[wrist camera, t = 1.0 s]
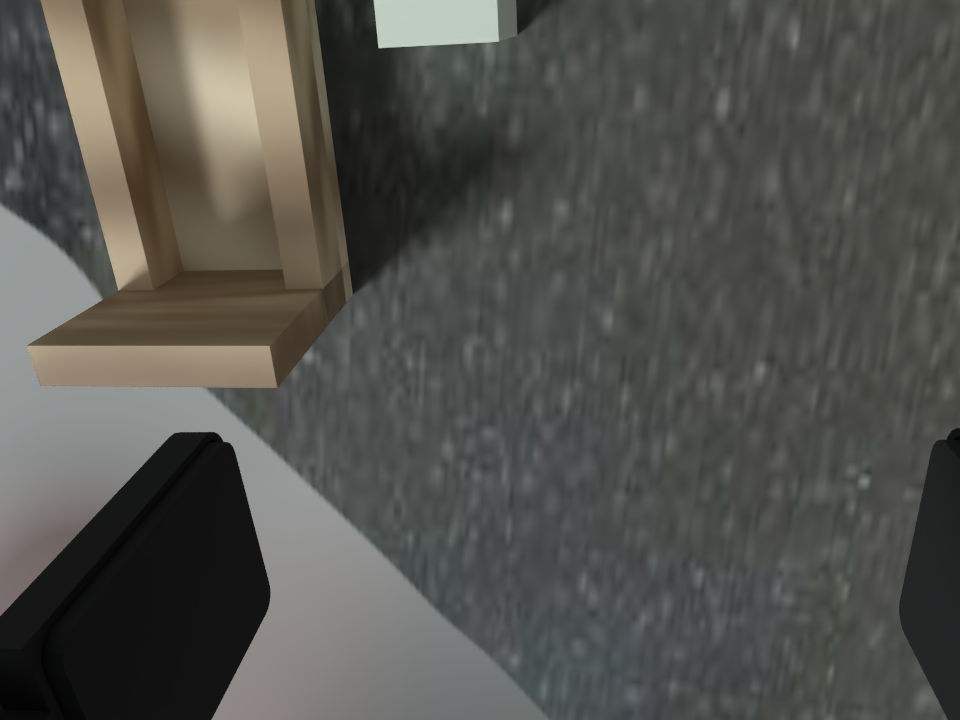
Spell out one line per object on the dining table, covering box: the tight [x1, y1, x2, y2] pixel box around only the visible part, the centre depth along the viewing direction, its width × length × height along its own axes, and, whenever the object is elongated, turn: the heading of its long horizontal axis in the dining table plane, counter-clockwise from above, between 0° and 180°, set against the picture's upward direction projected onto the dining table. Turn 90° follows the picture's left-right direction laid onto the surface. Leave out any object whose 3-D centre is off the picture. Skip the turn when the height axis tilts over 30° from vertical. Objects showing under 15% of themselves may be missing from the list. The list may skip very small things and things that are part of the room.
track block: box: [27, 0, 353, 388], centre depth 26 cm, size 12×8×9 cm
